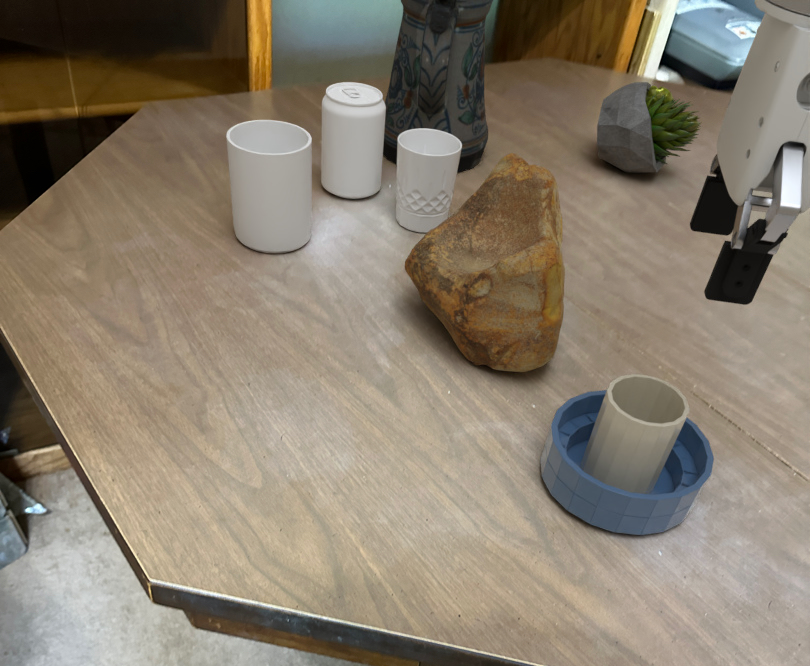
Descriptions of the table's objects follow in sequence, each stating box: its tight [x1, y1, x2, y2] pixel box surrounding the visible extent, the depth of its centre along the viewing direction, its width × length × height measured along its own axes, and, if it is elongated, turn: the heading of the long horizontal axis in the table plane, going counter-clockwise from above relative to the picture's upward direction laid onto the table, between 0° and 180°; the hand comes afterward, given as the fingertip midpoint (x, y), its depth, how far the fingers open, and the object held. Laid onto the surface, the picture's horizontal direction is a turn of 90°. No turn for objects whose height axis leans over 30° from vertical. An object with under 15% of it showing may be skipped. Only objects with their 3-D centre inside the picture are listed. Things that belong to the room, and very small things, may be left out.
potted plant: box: [596, 81, 702, 173], centre depth 114 cm, size 12×13×15 cm
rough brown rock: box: [404, 152, 566, 373], centre depth 81 cm, size 23×17×15 cm
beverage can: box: [320, 81, 386, 200], centre depth 101 cm, size 8×8×12 cm
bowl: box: [539, 389, 715, 536], centre depth 69 cm, size 14×14×5 cm
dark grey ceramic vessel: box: [383, 0, 494, 174], centre depth 105 cm, size 16×19×25 cm
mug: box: [225, 119, 313, 254], centre depth 91 cm, size 10×12×12 cm
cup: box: [580, 373, 691, 494], centre depth 67 cm, size 7×7×9 cm
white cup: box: [395, 128, 462, 234], centre depth 97 cm, size 8×8×10 cm
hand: (717, 263), depth 56 cm, fingers open, 9 cm apart
